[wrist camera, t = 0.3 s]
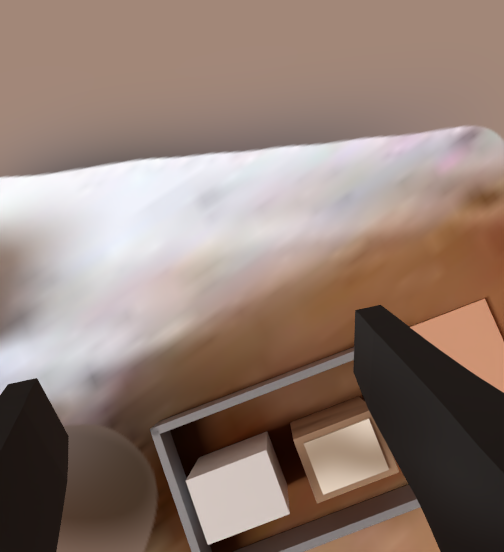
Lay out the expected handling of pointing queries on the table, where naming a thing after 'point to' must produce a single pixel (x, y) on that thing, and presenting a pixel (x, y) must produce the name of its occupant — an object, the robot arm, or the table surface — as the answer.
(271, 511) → the white box
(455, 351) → the tile
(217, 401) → the bin
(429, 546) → the table surface
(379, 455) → the walnut box
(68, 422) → the table surface
